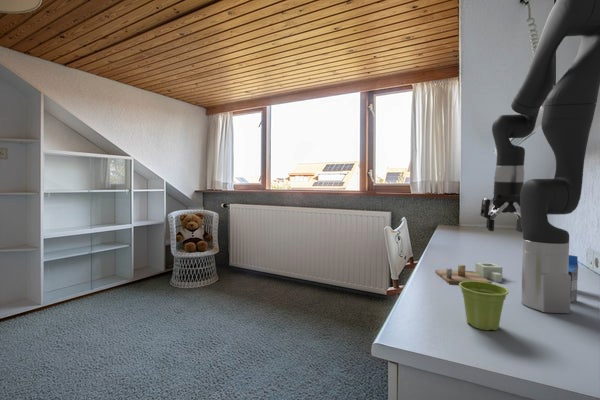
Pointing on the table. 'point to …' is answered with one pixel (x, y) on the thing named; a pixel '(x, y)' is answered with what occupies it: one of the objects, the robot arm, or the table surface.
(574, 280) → the label tape box
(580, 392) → the table surface
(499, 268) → the square ring with handle
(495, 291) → the plant pot
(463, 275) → the locating plate
